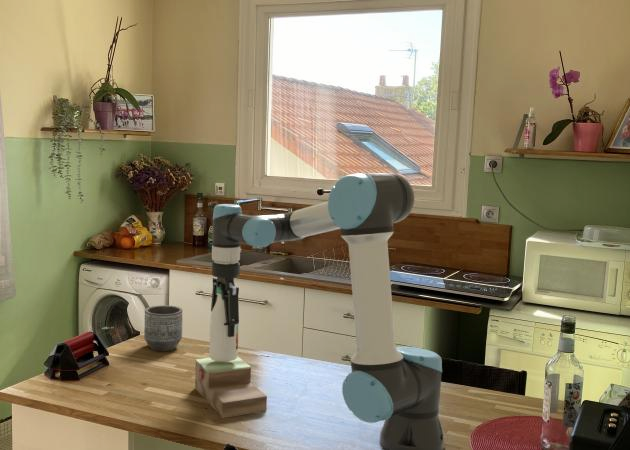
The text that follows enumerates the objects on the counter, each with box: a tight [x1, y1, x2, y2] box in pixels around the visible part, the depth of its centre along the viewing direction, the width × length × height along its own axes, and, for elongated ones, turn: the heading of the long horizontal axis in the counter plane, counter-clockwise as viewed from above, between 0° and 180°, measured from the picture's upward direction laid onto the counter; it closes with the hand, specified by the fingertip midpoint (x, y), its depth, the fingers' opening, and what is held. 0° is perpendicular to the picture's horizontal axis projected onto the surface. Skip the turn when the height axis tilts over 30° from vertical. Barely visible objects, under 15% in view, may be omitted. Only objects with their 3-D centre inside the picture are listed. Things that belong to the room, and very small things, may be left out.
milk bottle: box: [208, 286, 239, 362], centre depth 193 cm, size 8×8×20 cm
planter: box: [143, 304, 183, 352], centre depth 232 cm, size 12×12×13 cm
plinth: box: [194, 356, 268, 419], centre depth 190 cm, size 22×13×8 cm, turn 28°
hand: (223, 343), depth 194 cm, fingers closed on milk bottle, 8 cm apart
